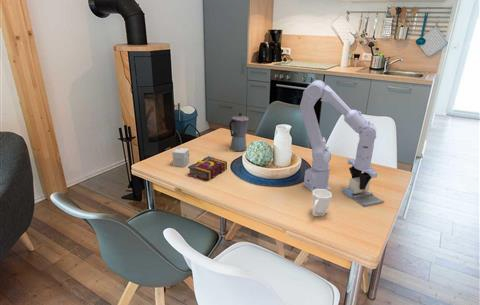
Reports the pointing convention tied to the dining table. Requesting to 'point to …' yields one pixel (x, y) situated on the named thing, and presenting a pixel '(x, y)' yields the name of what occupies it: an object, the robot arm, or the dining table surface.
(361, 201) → the grey ribbed plate
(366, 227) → the dining table surface
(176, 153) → the skincare box
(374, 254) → the dining table surface
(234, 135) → the moka pot
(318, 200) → the cup
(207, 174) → the decorative book
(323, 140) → the eye dropper bottle
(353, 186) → the block
